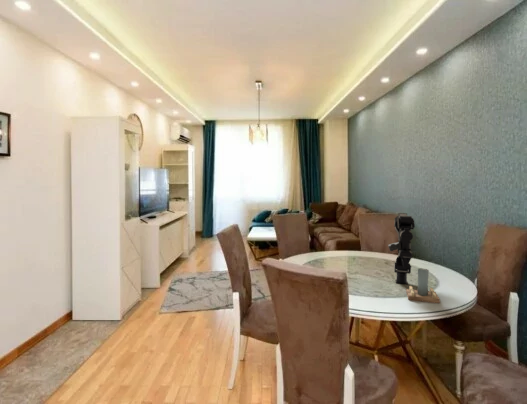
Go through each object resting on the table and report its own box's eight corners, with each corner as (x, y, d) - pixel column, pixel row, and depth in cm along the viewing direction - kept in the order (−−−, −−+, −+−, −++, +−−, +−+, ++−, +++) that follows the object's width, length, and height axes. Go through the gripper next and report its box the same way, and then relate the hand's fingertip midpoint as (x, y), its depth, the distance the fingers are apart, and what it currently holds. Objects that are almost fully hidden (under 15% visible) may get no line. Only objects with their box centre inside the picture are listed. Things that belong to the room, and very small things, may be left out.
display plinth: (406, 292, 175) (406, 285, 175) (435, 295, 171) (435, 288, 170) (408, 300, 164) (408, 292, 164) (439, 303, 159) (439, 295, 159)
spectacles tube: (415, 293, 168) (416, 268, 167) (422, 292, 169) (422, 267, 169) (423, 296, 163) (423, 271, 162) (429, 295, 165) (430, 270, 164)
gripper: (388, 235, 190) (387, 261, 191) (390, 240, 172) (389, 269, 173) (409, 236, 186) (408, 262, 187) (412, 241, 169) (412, 271, 170)
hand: (404, 266), depth 180 cm, fingers open, 9 cm apart
